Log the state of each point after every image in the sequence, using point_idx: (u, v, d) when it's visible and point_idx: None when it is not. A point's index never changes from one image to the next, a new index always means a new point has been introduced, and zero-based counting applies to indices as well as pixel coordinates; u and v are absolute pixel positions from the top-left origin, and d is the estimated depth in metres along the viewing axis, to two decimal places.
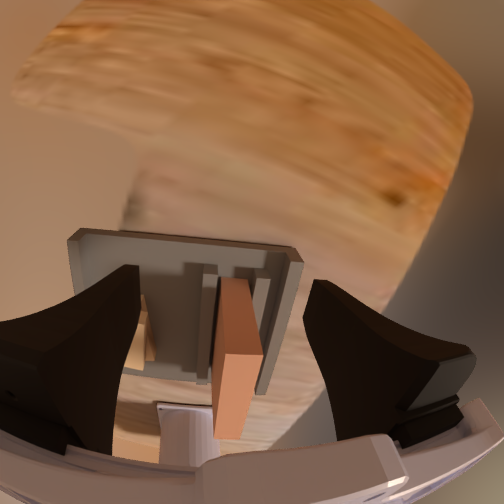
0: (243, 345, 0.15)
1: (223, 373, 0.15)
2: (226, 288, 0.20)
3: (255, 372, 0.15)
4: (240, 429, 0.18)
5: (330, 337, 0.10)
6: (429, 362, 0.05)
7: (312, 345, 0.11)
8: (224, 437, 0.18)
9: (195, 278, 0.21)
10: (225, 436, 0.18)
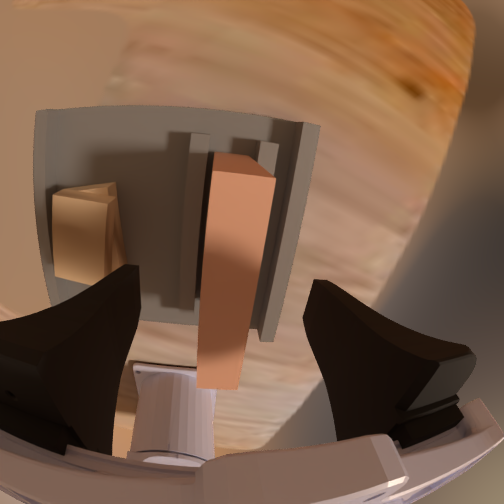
0: (243, 170, 0.09)
1: (208, 220, 0.09)
2: (220, 154, 0.14)
3: (263, 219, 0.09)
4: (238, 366, 0.12)
5: (330, 337, 0.10)
6: (429, 362, 0.05)
7: (312, 345, 0.11)
8: (213, 384, 0.12)
9: (182, 153, 0.15)
10: (214, 382, 0.12)
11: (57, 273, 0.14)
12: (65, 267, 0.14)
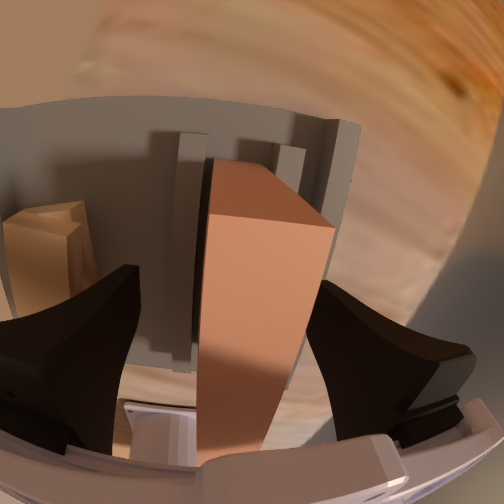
0: (269, 207, 0.05)
1: (204, 305, 0.05)
2: (222, 163, 0.10)
3: (306, 300, 0.05)
4: None
5: (330, 337, 0.10)
6: (429, 362, 0.05)
7: (312, 345, 0.11)
8: None
9: (170, 161, 0.11)
10: None
11: None
12: (28, 311, 0.10)
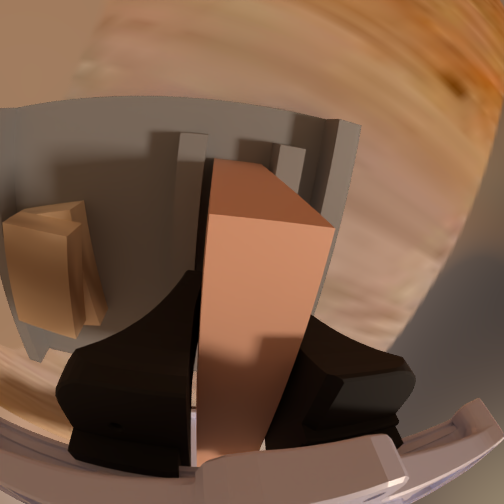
0: (268, 207, 0.05)
1: (204, 305, 0.05)
2: (222, 163, 0.10)
3: (306, 300, 0.05)
4: None
5: None
6: (334, 377, 0.05)
7: None
8: None
9: (170, 161, 0.11)
10: None
11: (20, 317, 0.10)
12: (28, 311, 0.10)
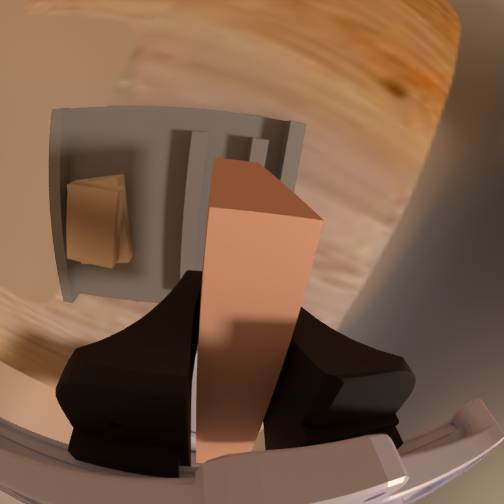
0: (263, 202, 0.05)
1: (204, 290, 0.05)
2: (222, 162, 0.10)
3: (298, 287, 0.05)
4: (248, 447, 0.08)
5: None
6: (333, 377, 0.05)
7: None
8: None
9: (184, 149, 0.17)
10: None
11: (69, 255, 0.16)
12: (77, 249, 0.16)
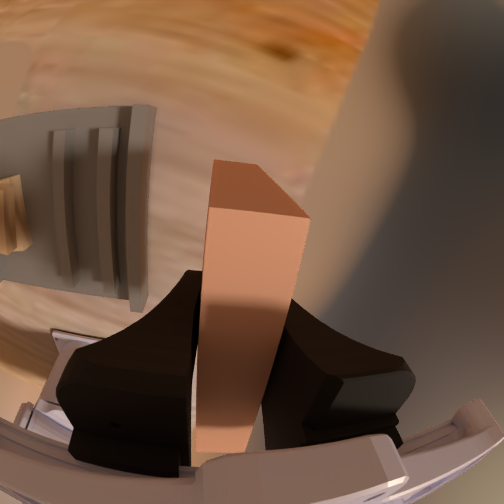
0: (257, 203, 0.06)
1: (204, 281, 0.06)
2: (221, 164, 0.11)
3: (289, 278, 0.06)
4: (246, 435, 0.09)
5: None
6: (334, 377, 0.05)
7: None
8: (216, 449, 0.09)
9: None
10: (217, 447, 0.09)
11: None
12: None
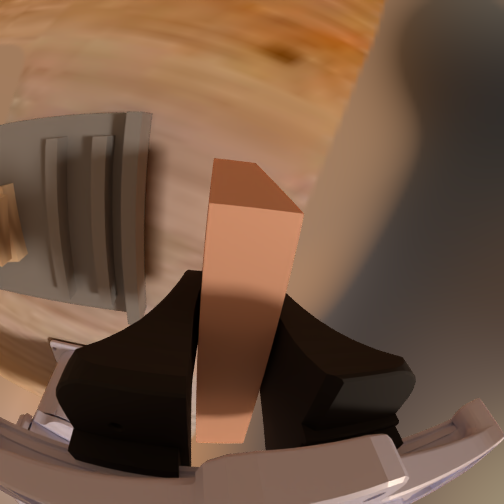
0: (254, 198, 0.06)
1: (204, 273, 0.06)
2: (221, 163, 0.11)
3: (284, 271, 0.06)
4: (244, 425, 0.09)
5: None
6: (333, 377, 0.05)
7: None
8: (215, 439, 0.10)
9: None
10: (217, 438, 0.10)
11: None
12: None
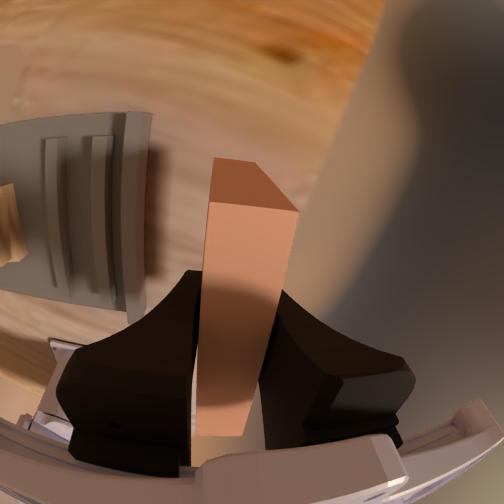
0: (252, 197, 0.07)
1: (205, 268, 0.07)
2: (221, 162, 0.12)
3: (280, 266, 0.07)
4: (243, 417, 0.10)
5: None
6: (333, 377, 0.05)
7: None
8: (215, 432, 0.10)
9: None
10: (216, 430, 0.10)
11: None
12: None
